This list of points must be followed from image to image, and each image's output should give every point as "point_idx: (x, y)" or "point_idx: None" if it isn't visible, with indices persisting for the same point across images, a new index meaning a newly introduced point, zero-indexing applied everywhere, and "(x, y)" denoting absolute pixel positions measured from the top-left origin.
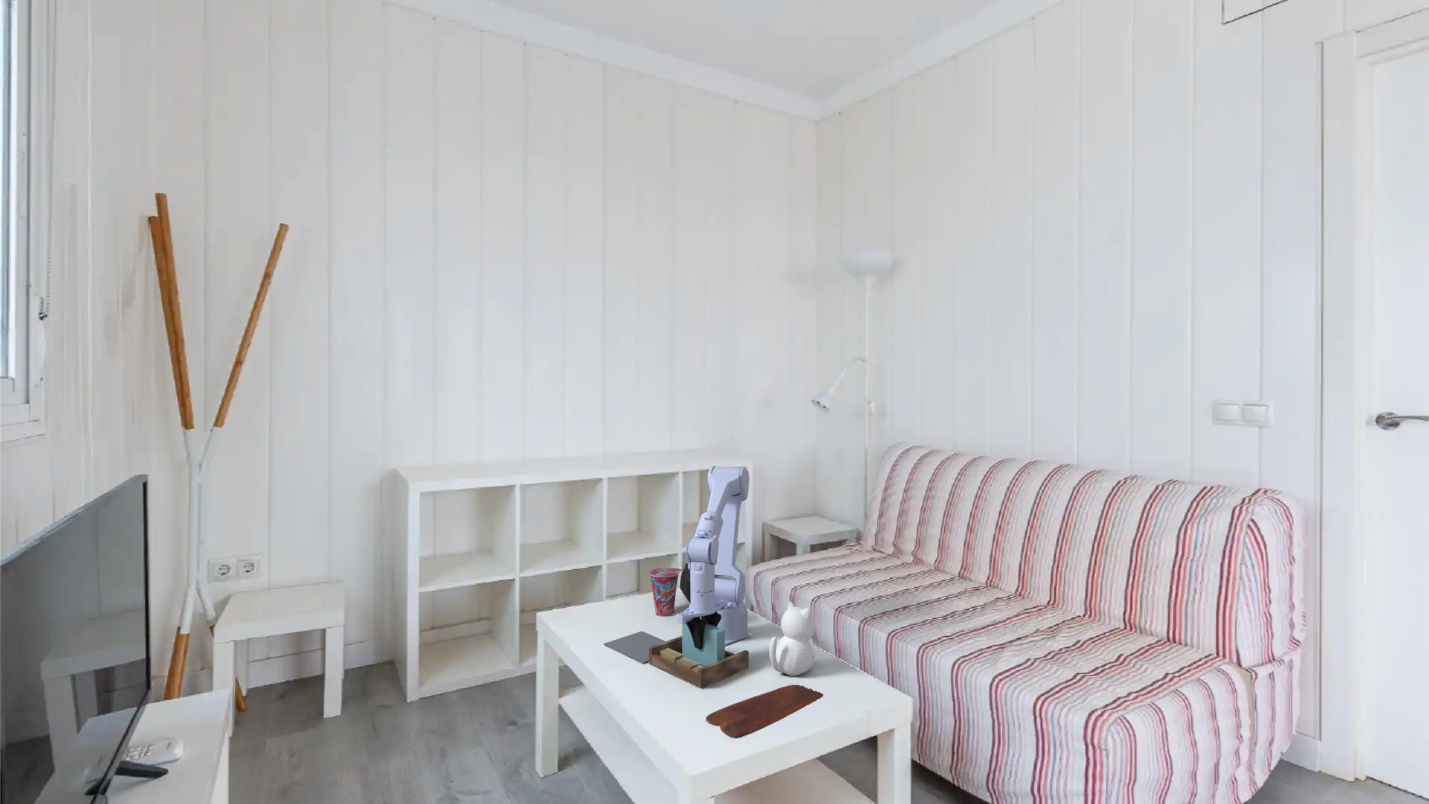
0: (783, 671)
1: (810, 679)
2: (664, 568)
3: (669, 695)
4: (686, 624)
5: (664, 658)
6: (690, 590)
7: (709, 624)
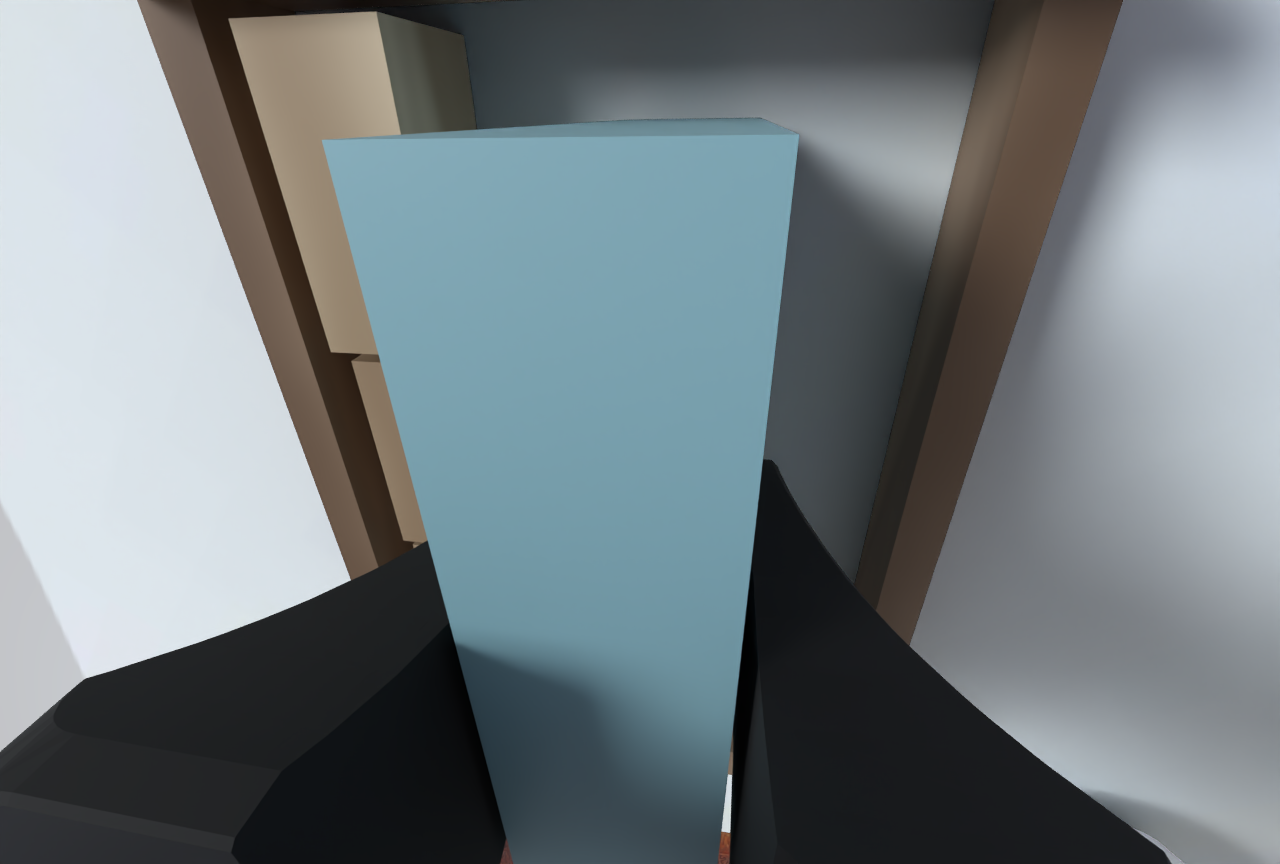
0: None
1: None
2: None
3: (228, 535)
4: (218, 642)
5: (255, 229)
6: None
7: (711, 855)
